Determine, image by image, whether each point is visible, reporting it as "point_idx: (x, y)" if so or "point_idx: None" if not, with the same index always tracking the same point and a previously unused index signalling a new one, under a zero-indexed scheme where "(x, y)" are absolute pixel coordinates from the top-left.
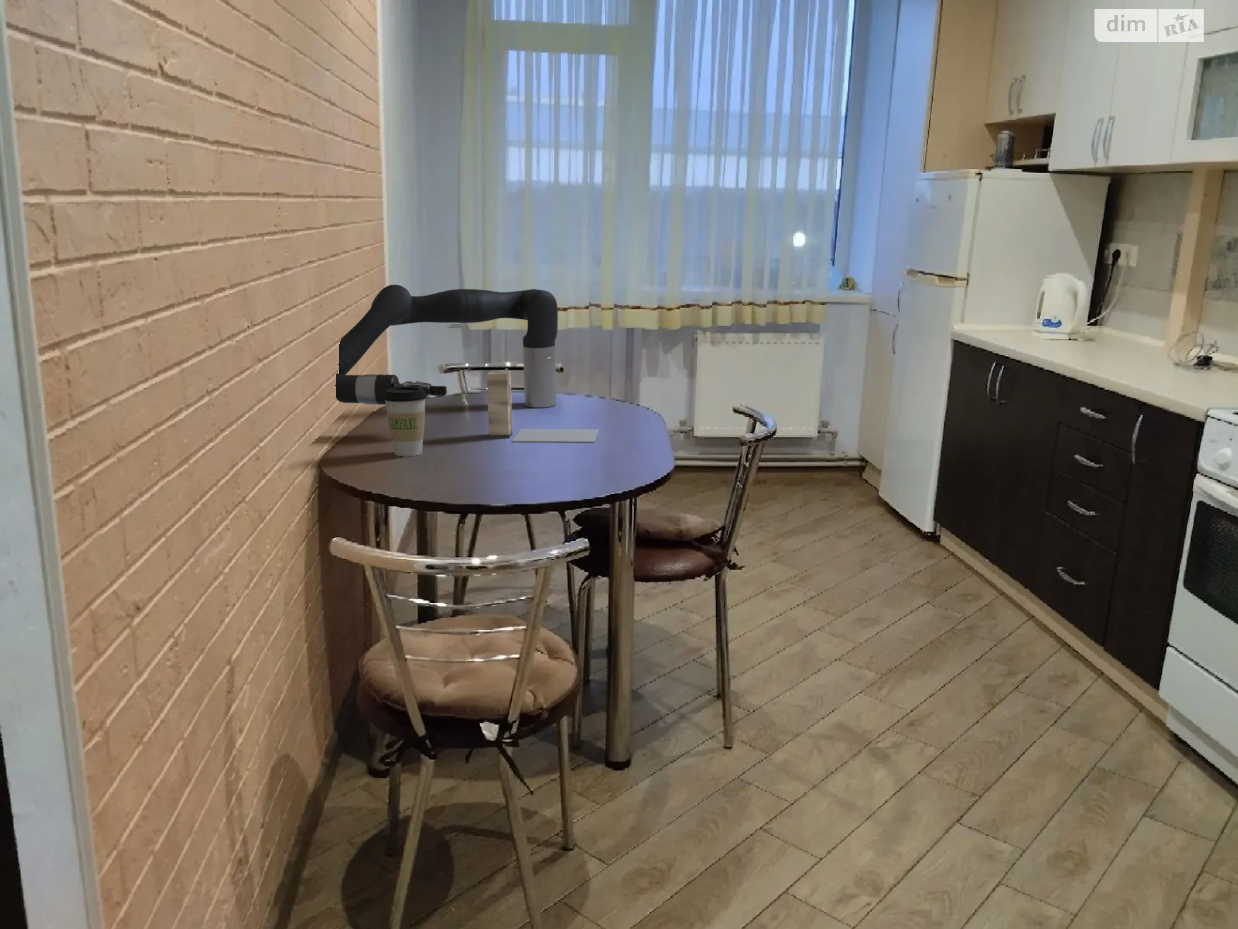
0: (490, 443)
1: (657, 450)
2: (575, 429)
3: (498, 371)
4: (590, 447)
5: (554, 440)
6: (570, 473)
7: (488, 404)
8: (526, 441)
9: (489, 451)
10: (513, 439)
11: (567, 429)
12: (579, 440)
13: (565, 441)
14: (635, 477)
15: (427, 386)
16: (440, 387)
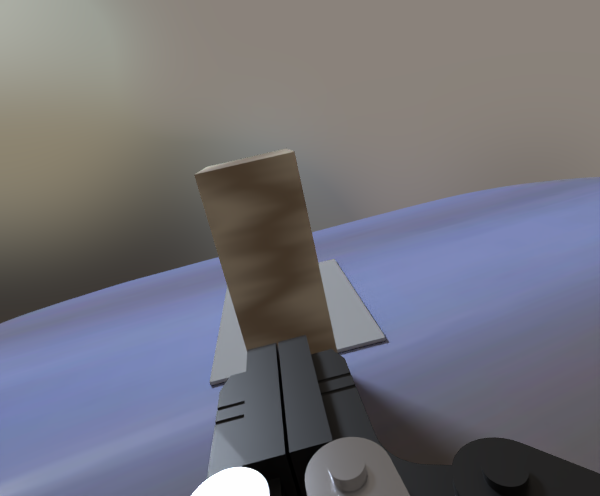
0: (434, 373)
1: (359, 221)
2: (226, 304)
3: (218, 166)
4: (373, 252)
5: (346, 289)
6: (565, 211)
7: (323, 289)
8: (372, 318)
9: (538, 332)
10: (366, 341)
11: (224, 312)
12: (333, 269)
13: (346, 278)
14: (514, 191)
15: (371, 462)
16: (312, 360)
